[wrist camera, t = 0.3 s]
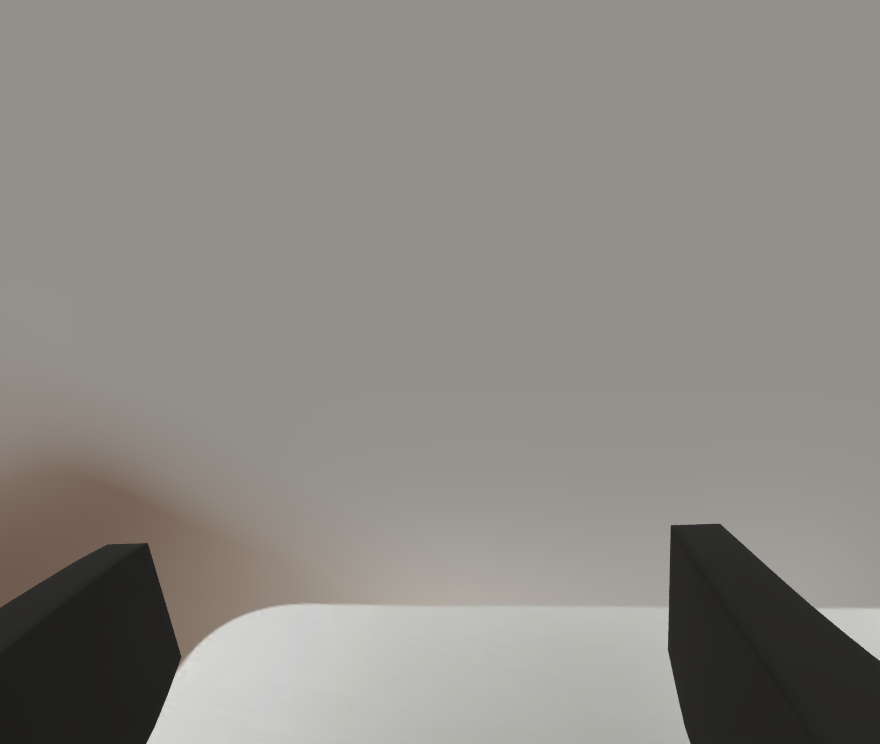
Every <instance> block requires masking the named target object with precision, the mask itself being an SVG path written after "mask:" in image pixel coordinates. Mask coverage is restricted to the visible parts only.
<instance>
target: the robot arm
mask: <svg viewBox="0 0 880 744" xmlns="http://www.w3.org/2000/svg"><path fill="white" fill-rule="evenodd" d="M670 543H671V544H670V587H669V588H670V589H669V632H668V652H669V657H670V661H671V666H672V671H673V675H674V680H675V685H676V689H677V694H678V698H679V703H680V707H681V712H682V716H683V720H684V725H685V728H686V731H687V734H688V737H689V740H690V743H691V744H880V661H879V660H878V659H877V658H875V657H874V656H873V655H871V654H870V653H869V652H868V651H866V650H865V649H864V648H863V647H861V646H860V645H859V644H858V643H856V642H855V641H854V640H853V639H851V638H850V637H849V636H848V635H846V634H845V633H844V632H843V631H841V630H840V629H839V628H838V627H837V626H835V625H834V624H833V623H832V622H831V621H829V620H828V619H827V618H826V617H825V616H823V615H822V614H821V613H820V612H819V611H817V610H816V609H815V608H814V607H812V606H811V605H810V604H809V603H808V602H807V601H806V600H804V599H803V598H802V597H801V596H800V595H799V594H798V593H796V592H795V591H794V590H793V589H792V588H791V587H789V585H787V584H786V583H785V582H784V581H783V580H782V579H781V578H780V577H778V576H777V575H776V574H775V573H774V572H773V571H772V570H770V569H769V568H768V567H767V566H766V565H765V564H764V563H763V562H762V561H761V560H759V559H758V558H757V557H756V556H755V555H754V554H753V553H752V552H751V551H749V550H748V549H747V548H746V547H745V546H744V545H743V544H742V543H741V542H739V541H738V540H737V539H736V538H735V537H734V536H733V535H732V534H731V533H730V532H728V531H727V530H726V529H725V528H724V527H723V526H722V525H721V524H700V525H699V524H698V525H671V542H670ZM180 659H181V655H180V651H179V647H178V644H177V641H176V638H175V634H174V630H173V627H172V624H171V621H170V617H169V613H168V610H167V607H166V603H165V600H164V597H163V593H162V590H161V586H160V583H159V580H158V577H157V573H156V570H155V566H154V563H153V559H152V556H151V553H150V550H149V546H148V543H143V544H142V543H141V544H112V545H106V546H104V547H102V548H100V549H98V550H96V551H94V552H92V553H90V554H88V555H87V556H85V557H83V558H81V559H79V560H78V561H76V562H74V563H72V564H71V565H69V566H67V567H66V568H64V569H62V570H61V571H59V572H58V573H56V574H54V575H53V576H51V577H49V578H48V579H46V580H45V581H43V582H41V583H39V584H38V585H36V586H35V587H33V588H31V589H30V590H28V591H27V592H25V593H23V594H22V595H20V596H19V597H17V598H15V599H14V600H12V601H10V602H9V603H7V604H6V605H4V606H3V607H1V608H0V744H146V743H147V741H148V739H149V737H150V735H151V733H152V731H153V729H154V727H155V725H156V722H157V720H158V717H159V715H160V712H161V710H162V707H163V705H164V702H165V700H166V697H167V695H168V692H169V689H170V687H171V684H172V681H173V678H174V676H175V673H176V670H177V667H178V665H179V662H180Z"/></svg>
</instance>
